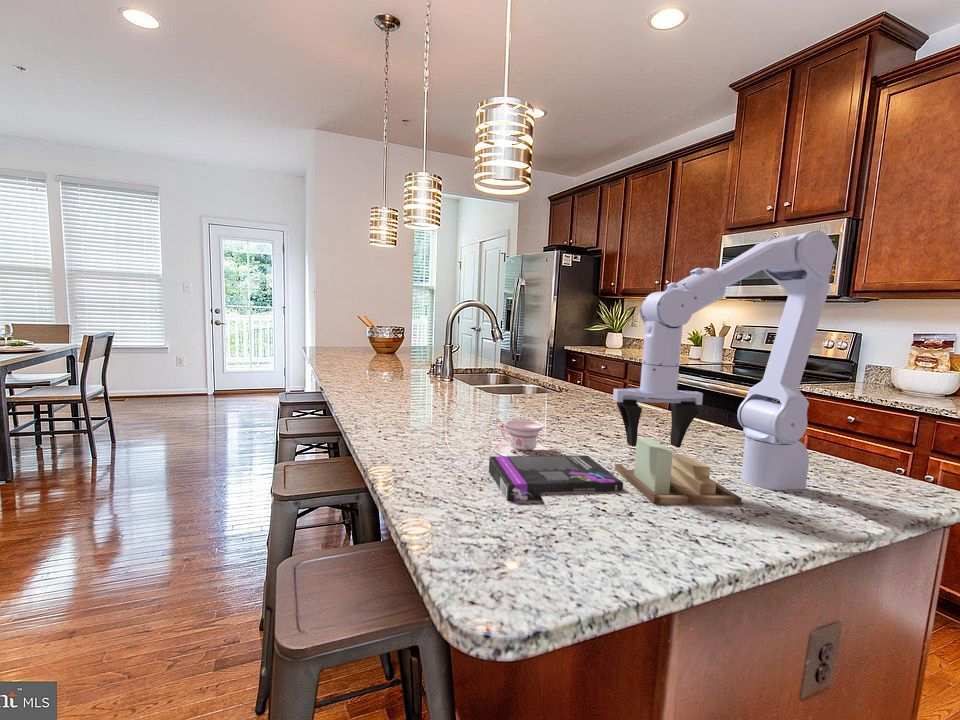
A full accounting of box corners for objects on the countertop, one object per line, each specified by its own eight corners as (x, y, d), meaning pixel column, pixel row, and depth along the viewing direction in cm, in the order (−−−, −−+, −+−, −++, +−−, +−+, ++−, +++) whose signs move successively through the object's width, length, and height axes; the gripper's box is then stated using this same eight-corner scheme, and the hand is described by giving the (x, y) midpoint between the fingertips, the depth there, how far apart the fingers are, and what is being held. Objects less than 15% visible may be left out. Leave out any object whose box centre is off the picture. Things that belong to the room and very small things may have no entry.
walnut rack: (686, 475, 89) (687, 465, 89) (740, 510, 73) (741, 498, 73) (614, 474, 88) (615, 464, 88) (653, 510, 72) (654, 497, 72)
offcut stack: (684, 474, 86) (686, 453, 86) (716, 495, 77) (718, 471, 76) (668, 474, 86) (670, 453, 86) (698, 495, 76) (700, 471, 76)
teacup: (553, 448, 105) (554, 420, 104) (548, 464, 93) (550, 433, 92) (499, 442, 107) (500, 415, 107) (488, 457, 96) (489, 427, 95)
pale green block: (647, 477, 84) (650, 438, 84) (669, 494, 76) (672, 451, 76) (633, 476, 84) (636, 438, 83) (654, 493, 76) (657, 451, 75)
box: (506, 507, 73) (623, 500, 77) (506, 485, 73) (624, 479, 77) (488, 474, 87) (588, 470, 91) (488, 456, 87) (589, 452, 90)
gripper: (689, 363, 83) (682, 439, 84) (608, 360, 82) (603, 437, 83) (712, 368, 76) (704, 451, 77) (624, 364, 75) (618, 449, 76)
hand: (653, 445), depth 80 cm, fingers open, 7 cm apart
